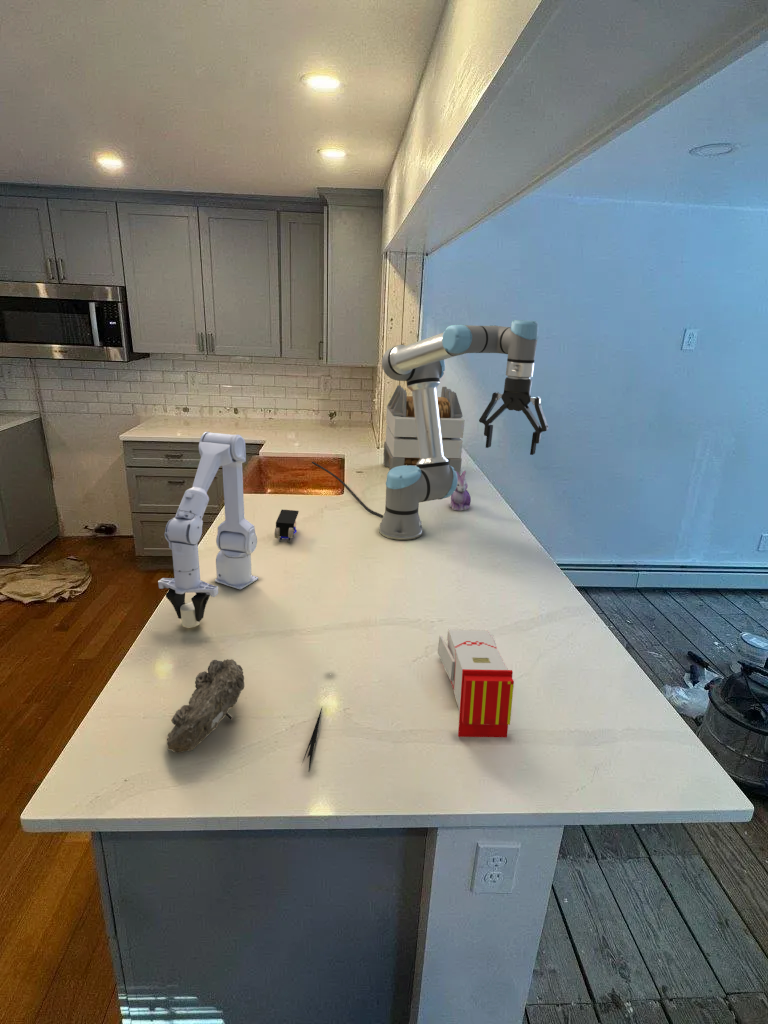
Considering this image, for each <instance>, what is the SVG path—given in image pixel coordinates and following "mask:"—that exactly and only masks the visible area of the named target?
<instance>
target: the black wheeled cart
mask: <svg viewBox="0 0 768 1024" xmlns="http://www.w3.org/2000/svg"><path fill="white" fill-rule="evenodd" d="M299 512H300V511H299V510H294V509H281V510H280V512H279V514H278V516H277V518H276V521H275V528H274V533H273V535H274V539H278V542H279V543H282V541H283V539H284V540H287V543H290V542H291V540H292V539H293V538H295V537H294V536H295V534H296V533H297V532H298V530H297V521H296V520H297V517H298V515H299Z"/></svg>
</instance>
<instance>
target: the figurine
mask: <svg viewBox="0 0 768 1024" xmlns="http://www.w3.org/2000/svg"><path fill="white" fill-rule="evenodd" d="M456 473H457V478H458V481H457V487H456V490H455V491H454V493H453V494H452V495H451V496H450V504H449V507H450V508H451V509H452V510H453V511H466V510H468V509H470V507H471V502H472V498H471V494H470V492H469V491H468V490H467V489H468V487H469V485H468V482H467V480H466V475H467V471H466V470H464V471H462V473H461V474H460V475H459V473H458V472H457V471H456Z"/></svg>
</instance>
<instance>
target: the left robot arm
mask: <svg viewBox="0 0 768 1024" xmlns="http://www.w3.org/2000/svg"><path fill="white" fill-rule="evenodd" d="M198 453H199V456H200V458H199V463H198V465H197V469H196V472H195V476H194V480H193V482H192V487H190V488H188V489H186V490H185V491H184V493H183V495H182V498H181V501H180V503H179V506H178V508H177V511H176V513H175V516H174V517H172V518H171V519H169V520H168V521H167V523H166V525H165V530H164V533H163V534H164V538H165V540H166V542H167V543H168V548H169V549H170V550H171V555H172V566H173V567H172V568H173V576H174V577H162V578H160V579H159V580H158V581H157V584H158V589H160V590H163V589H167V592H166V593H165V598H166V599H167V600H168V601H169V602H170V603H171V605H172V607H173V608H174V611H175V613H176V616H177V618H178V619H181V611H180V607H181V606H182V605H183V604H185V603H186V593H189V594H190V593H194V595H193V596H192V597H191V598H190V600H191V602H193V605H194V608H195V616H196V621H198V622H199V621H200V622H201V621H202V620H203V619H204V615H205V612H206V611H205V610H206V606H207V603H208V602H209V601H208V600H209V599H210V597H211V598H215V597H217V596H218V595H219V586H218V585H213V584H211V583H208V582H206V581H203V580H201V570H200V556H199V555H200V554H199V542H200V540H201V538H202V534H203V524H204V521H203V517H204V515H205V512H206V510H207V507H208V504H209V503H210V502H209V501H210V496H209V495H208V491H209V489H210V487H211V485H212V483H213V481H214V479H215V477H216V475H217V473H218V471H219V469H220V467H222V486H223V505H224V521H222V522H221V523H220V524H219V525H218V526H217V534H216V538H215V543H216V544H215V545H216V547H217V549H218V550H219V551H218V552H217V554H216V558H215V572H216V578H215V579H214V583H215V582H216V583H218V584H221V585H224V586H228V587H230V588H233V589H237V590H243V589H244V588H246V587H248V586H249V585H251V584H252V583H255V582H256V581H258V580H259V577H258V576H256V575H252V554H253V553H254V552H255V551H256V549H257V545H258V536H257V534H256V528H255V527H256V526H255V525H254V524H252V523H251V522H250V521H249V520H247V519H246V518H245V501H244V500H245V498H244V496H245V495H244V476H243V463H246V461H247V449H246V440H245V439H244V438H243V436H242V435H241V434H232V433H230V434H229V433H220V432H211V431H204V432H203V433H202V435H201V436H200V438H199V441H198Z"/></svg>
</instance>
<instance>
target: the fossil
mask: <svg viewBox="0 0 768 1024" xmlns="http://www.w3.org/2000/svg"><path fill="white" fill-rule="evenodd" d="M243 670H244V669H243V667H242V665H240V664H237V662H236V661H235V660H234V659H232V658H231V659H227V658H226V659H224V660H223V661H222V660H217V659H212V660H211V661H210V663H209V665H208V666H207V671H201V672H199V673H198V674H197V675H196V676H195V680H194V684H195V685H194V687H195V689H194V690H193V693H192V694H191V697H190V698H189V700H188V704H184V705H182V706H181V707H180V709H177V710H176V711H175V713H174V715H173V716H172V718H171V723H172V724H173V727H172V730H171V731H170V732H168V734H167V738H166V741H167V742H166V745H167V749H168V750H169V751H173V752H174V753H176V754H178V753H182V752H188V751H189V752H192V751H193V750H195V748H196V747H197V746H199V744H200V743H201V742H203V741H204V740H205V739H206V738H207V737H208V736H209V735H210V734H211V733H212V732H214V730H215V729H217V727H218V726H219V724H220V722H221V721H222V720H223V719H224V718H225V716H226V717H227V719H229V720H233V717H232V715H230V714H229V710H230V709H231V708H234V706H235V704H236V703H237V702H238V699H239V697H240V695H241V693H242V691H243V690H245V689H244V688H245V675H244V671H243Z"/></svg>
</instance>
